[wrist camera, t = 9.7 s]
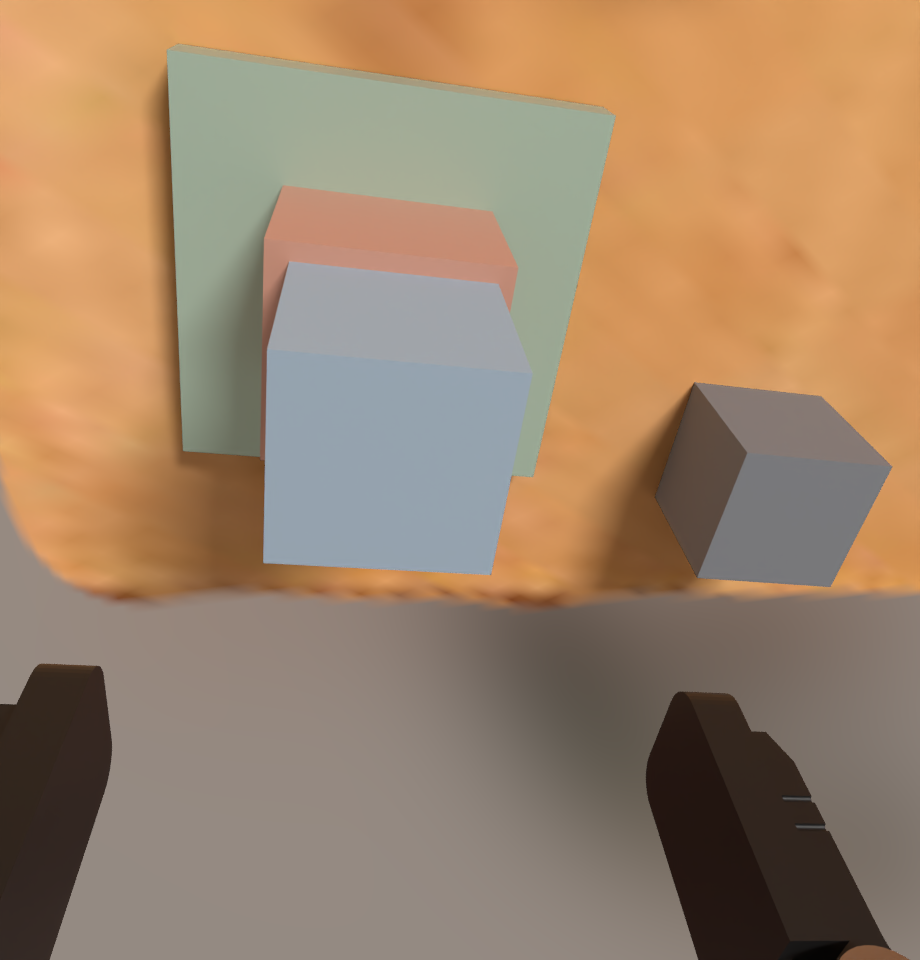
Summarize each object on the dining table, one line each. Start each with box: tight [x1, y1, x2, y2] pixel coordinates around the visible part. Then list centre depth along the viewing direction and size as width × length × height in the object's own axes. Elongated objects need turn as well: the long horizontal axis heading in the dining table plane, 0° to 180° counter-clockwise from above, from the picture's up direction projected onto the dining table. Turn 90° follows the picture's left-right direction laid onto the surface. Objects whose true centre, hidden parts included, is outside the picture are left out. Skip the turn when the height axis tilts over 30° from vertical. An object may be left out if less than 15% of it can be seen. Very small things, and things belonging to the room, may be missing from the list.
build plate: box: [167, 44, 616, 477], centre depth 26 cm, size 12×12×2 cm
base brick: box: [260, 185, 518, 461], centre depth 23 cm, size 6×6×5 cm
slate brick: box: [655, 382, 892, 587], centre depth 29 cm, size 5×5×5 cm
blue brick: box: [263, 261, 533, 575], centre depth 19 cm, size 5×5×5 cm
